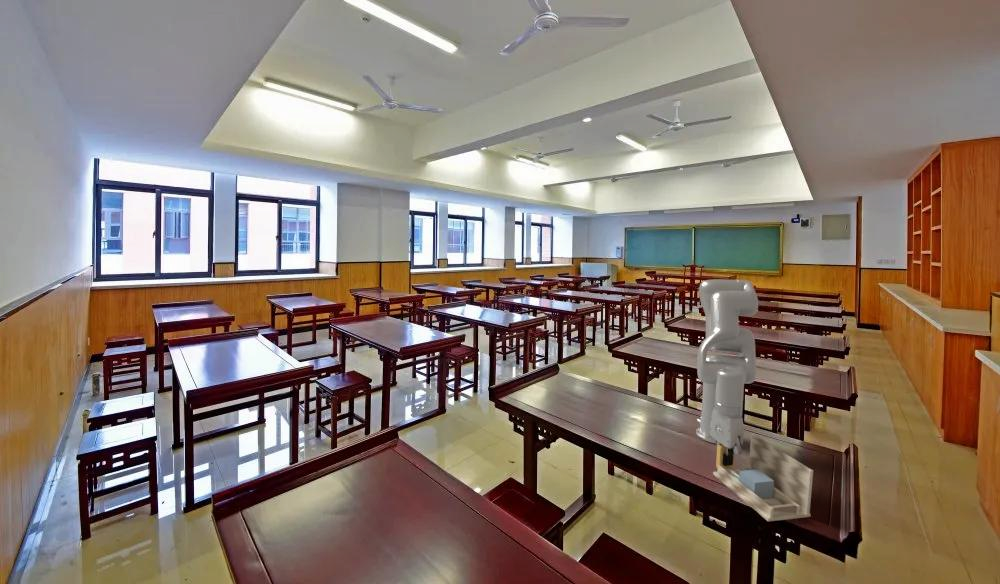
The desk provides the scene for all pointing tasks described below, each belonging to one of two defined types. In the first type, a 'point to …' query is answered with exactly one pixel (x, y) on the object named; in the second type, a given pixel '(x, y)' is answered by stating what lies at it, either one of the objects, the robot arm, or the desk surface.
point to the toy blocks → (749, 477)
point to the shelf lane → (787, 477)
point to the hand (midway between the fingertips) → (725, 462)
